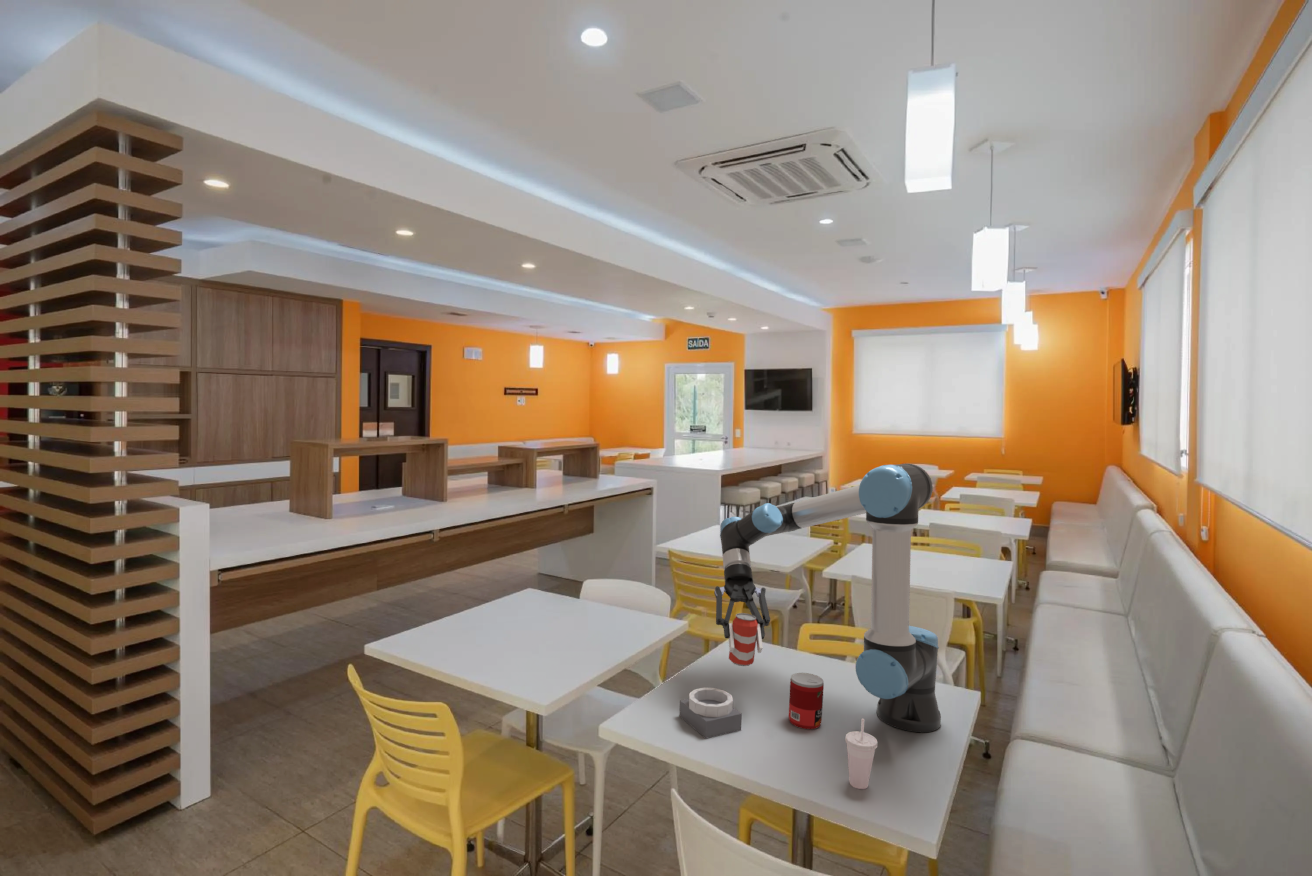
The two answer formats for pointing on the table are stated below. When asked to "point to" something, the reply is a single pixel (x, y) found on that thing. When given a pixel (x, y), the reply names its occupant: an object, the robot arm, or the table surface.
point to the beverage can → (744, 639)
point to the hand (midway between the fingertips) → (746, 650)
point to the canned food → (806, 700)
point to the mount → (710, 712)
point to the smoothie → (860, 756)
